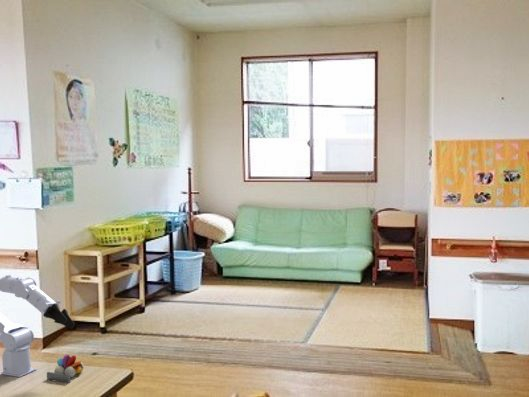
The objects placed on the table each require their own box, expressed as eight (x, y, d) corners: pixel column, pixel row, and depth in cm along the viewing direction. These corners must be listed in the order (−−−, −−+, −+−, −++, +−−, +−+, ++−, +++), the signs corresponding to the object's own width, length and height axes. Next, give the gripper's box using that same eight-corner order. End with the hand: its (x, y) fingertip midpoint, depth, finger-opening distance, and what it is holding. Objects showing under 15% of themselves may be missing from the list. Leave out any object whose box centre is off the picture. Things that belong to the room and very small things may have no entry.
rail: (47, 379, 202) (46, 372, 202) (48, 378, 202) (48, 371, 202) (68, 383, 198) (68, 376, 197) (70, 382, 198) (70, 375, 198)
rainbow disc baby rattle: (75, 379, 201) (74, 359, 200) (50, 378, 203) (49, 358, 202) (87, 371, 209) (86, 351, 209) (63, 370, 211) (62, 350, 211)
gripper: (41, 287, 198) (69, 310, 195) (57, 297, 212) (83, 319, 208) (27, 304, 196) (55, 327, 193) (43, 313, 210) (70, 335, 206)
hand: (69, 324), depth 200 cm, fingers open, 7 cm apart
